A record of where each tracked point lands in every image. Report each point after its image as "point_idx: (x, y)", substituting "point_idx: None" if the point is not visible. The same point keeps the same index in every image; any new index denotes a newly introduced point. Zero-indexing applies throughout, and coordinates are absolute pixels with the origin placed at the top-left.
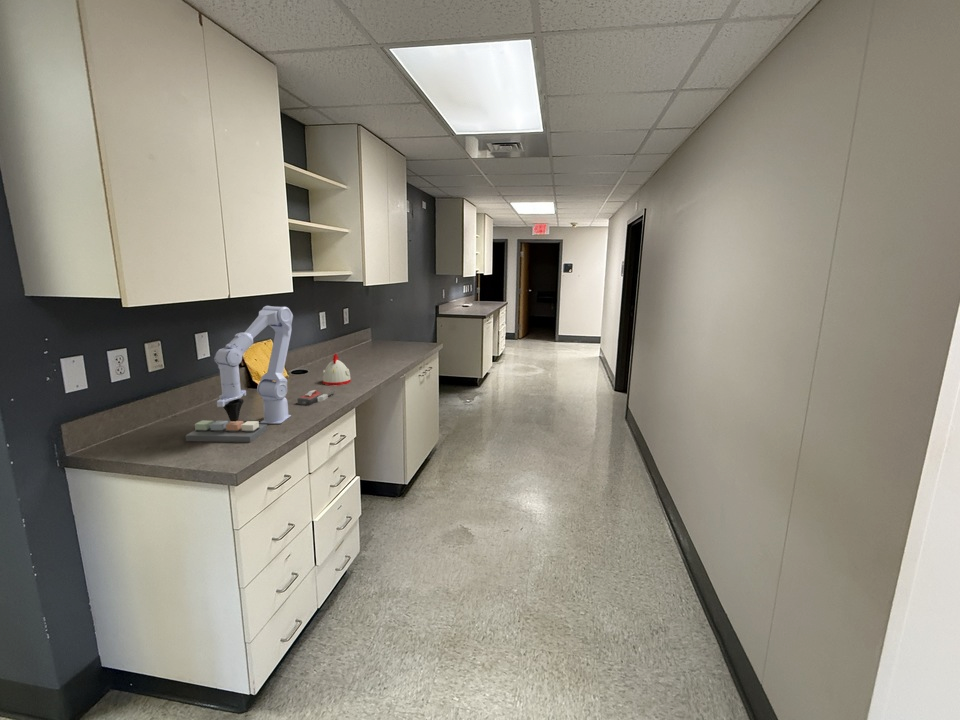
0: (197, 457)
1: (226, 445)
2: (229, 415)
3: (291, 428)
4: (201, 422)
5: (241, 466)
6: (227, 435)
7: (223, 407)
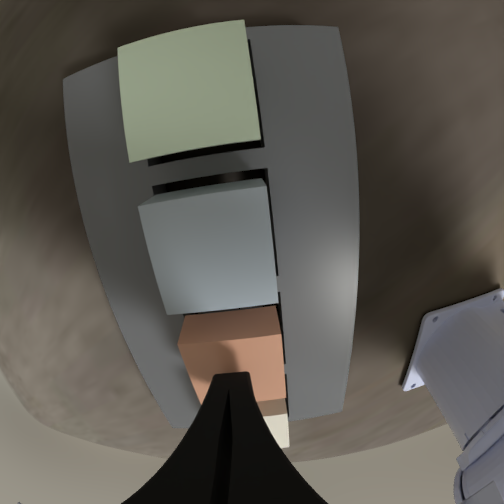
0: (2, 308)
1: (107, 347)
2: (203, 420)
3: (346, 434)
4: (174, 64)
5: (53, 426)
6: (138, 348)
7: (137, 491)
